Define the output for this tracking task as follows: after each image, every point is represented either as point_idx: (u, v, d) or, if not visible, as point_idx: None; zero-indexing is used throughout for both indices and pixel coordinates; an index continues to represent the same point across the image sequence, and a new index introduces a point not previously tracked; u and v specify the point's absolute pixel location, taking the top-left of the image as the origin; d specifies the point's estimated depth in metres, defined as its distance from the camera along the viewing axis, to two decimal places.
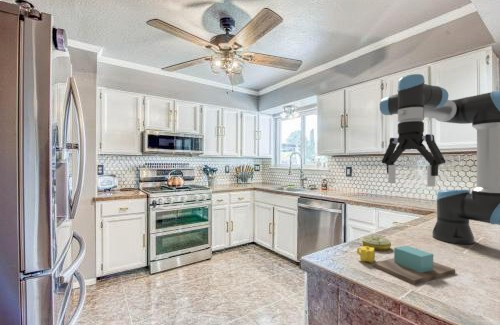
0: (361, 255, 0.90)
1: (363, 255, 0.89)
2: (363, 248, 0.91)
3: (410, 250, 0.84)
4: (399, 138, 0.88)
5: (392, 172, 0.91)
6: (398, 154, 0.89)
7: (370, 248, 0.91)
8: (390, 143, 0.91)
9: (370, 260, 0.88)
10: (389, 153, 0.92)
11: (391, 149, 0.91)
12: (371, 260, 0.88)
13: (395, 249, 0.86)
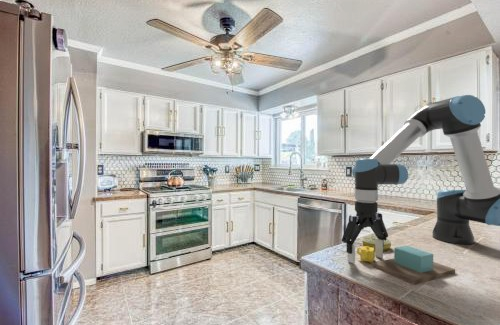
0: (361, 255, 0.90)
1: (363, 255, 0.89)
2: (363, 248, 0.91)
3: (410, 250, 0.84)
4: None
5: (377, 246, 0.94)
6: (375, 230, 0.93)
7: (370, 248, 0.91)
8: None
9: (370, 260, 0.88)
10: (379, 227, 0.95)
11: (377, 223, 0.94)
12: (371, 260, 0.88)
13: (395, 249, 0.86)
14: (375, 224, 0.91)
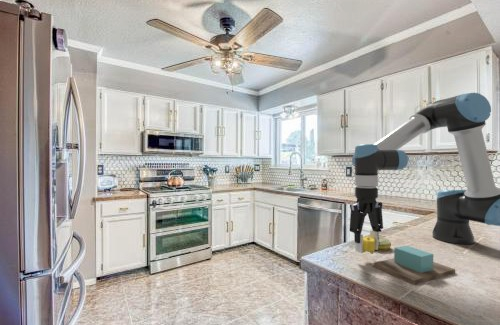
0: None
1: (364, 245, 0.89)
2: (364, 239, 0.91)
3: (410, 250, 0.84)
4: None
5: None
6: (372, 218, 0.92)
7: (370, 238, 0.91)
8: None
9: (371, 250, 0.88)
10: (376, 217, 0.94)
11: (375, 213, 0.94)
12: (372, 250, 0.88)
13: (395, 249, 0.86)
14: (374, 211, 0.91)
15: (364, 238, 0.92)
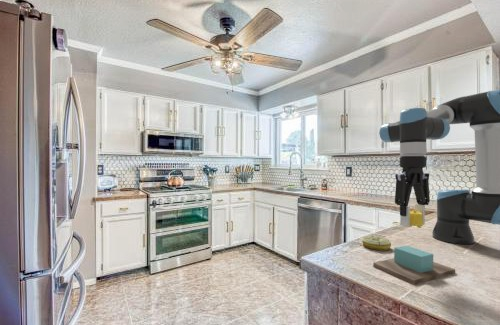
0: None
1: (411, 219, 0.81)
2: None
3: (410, 250, 0.84)
4: None
5: None
6: (418, 190, 0.84)
7: (417, 212, 0.83)
8: None
9: (419, 224, 0.80)
10: None
11: None
12: (420, 224, 0.80)
13: (395, 249, 0.86)
14: (421, 182, 0.83)
15: (410, 212, 0.84)
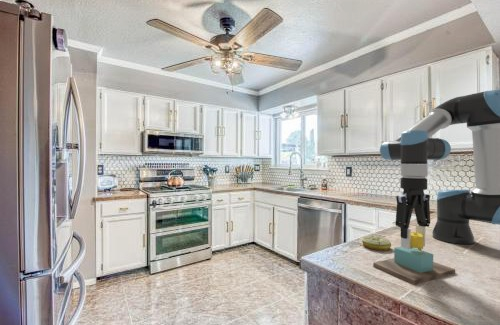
0: None
1: (411, 241, 0.81)
2: None
3: (410, 250, 0.84)
4: None
5: None
6: (419, 212, 0.84)
7: (418, 234, 0.83)
8: None
9: (420, 246, 0.80)
10: None
11: None
12: (421, 246, 0.80)
13: (395, 249, 0.86)
14: (422, 204, 0.83)
15: None
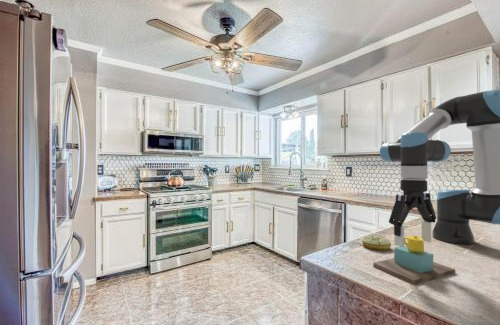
0: (409, 245, 0.82)
1: (412, 245, 0.81)
2: (410, 238, 0.83)
3: None
4: None
5: (425, 229, 0.86)
6: (422, 211, 0.85)
7: (418, 237, 0.83)
8: None
9: (420, 250, 0.80)
10: None
11: None
12: (422, 250, 0.80)
13: (395, 249, 0.86)
14: (424, 204, 0.83)
15: (410, 237, 0.84)
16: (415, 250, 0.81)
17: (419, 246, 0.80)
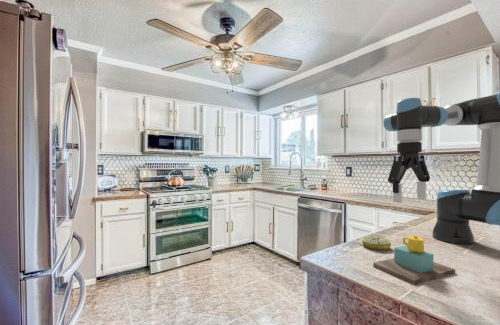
0: (409, 245, 0.82)
1: (412, 245, 0.81)
2: (410, 238, 0.83)
3: None
4: None
5: (420, 188, 0.94)
6: (417, 171, 0.93)
7: (418, 237, 0.83)
8: None
9: (420, 250, 0.80)
10: None
11: None
12: (422, 250, 0.80)
13: (395, 249, 0.86)
14: (419, 165, 0.91)
15: (410, 237, 0.84)
16: (415, 250, 0.81)
17: (419, 246, 0.80)
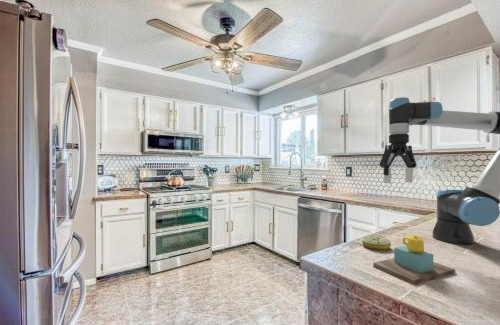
0: (409, 245, 0.82)
1: (412, 245, 0.81)
2: (410, 238, 0.83)
3: None
4: None
5: (407, 173, 1.12)
6: (405, 159, 1.11)
7: (418, 237, 0.83)
8: None
9: (420, 250, 0.80)
10: None
11: (407, 155, 1.13)
12: (422, 250, 0.80)
13: (395, 249, 0.86)
14: (406, 153, 1.09)
15: (410, 237, 0.84)
16: (415, 250, 0.81)
17: (419, 246, 0.80)
